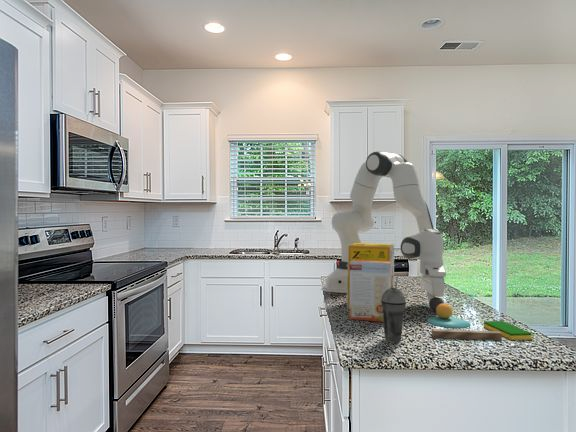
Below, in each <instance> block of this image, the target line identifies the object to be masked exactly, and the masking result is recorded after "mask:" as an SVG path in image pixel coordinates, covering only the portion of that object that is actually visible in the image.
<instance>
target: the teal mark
mask: <svg viewBox="0 0 576 432" xmlns="http://www.w3.org/2000/svg"><path fill="white" fill-rule="evenodd" d="M426 321H427V322H428V323H429V324H431V325H434V326H436V327H441V328H446V329H447V328H448V329H465V328H469V327H471V322H469V321H467V320H465V319H461V318H458V317H452V316H451V317H450V318H448V319H442V318H440V317H439V316H431V317H428V318H427V319H426Z"/></svg>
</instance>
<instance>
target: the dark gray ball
mask: <svg viewBox="0 0 576 432" xmlns="http://www.w3.org/2000/svg"><path fill="white" fill-rule="evenodd" d="M442 303H445V302H444V300H443V299H442V298H441V297H434V298H432V299H431V300H430V301H429V302H428V305H429V308H430V310H431V311H434V312H436V308H437V306H438V305H439V304H442Z"/></svg>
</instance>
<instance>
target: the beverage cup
mask: <svg viewBox="0 0 576 432" xmlns="http://www.w3.org/2000/svg"><path fill="white" fill-rule="evenodd" d="M395 277H396V278H395V283H394V288H390V289H387V290H386V291H385V292H384V293H383V295H382V300H381V302H382V308H383V320H384V322H383V331H384V332H383V334H384V340H385V341H386V342H389V343H392V344H393V343H395V344H397V343H401V342H402V341H401V340H402V335H403V326H404V325H403V324H404V316H405V315H404V314H405V309H406V304H407V301H406V296H405V295H404V292H402V291H401V290H400V289H399V288H398V287H397V286H398V279H399V273H396V276H395Z"/></svg>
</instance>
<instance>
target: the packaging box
mask: <svg viewBox="0 0 576 432" xmlns="http://www.w3.org/2000/svg"><path fill="white" fill-rule="evenodd" d="M352 260H370V261H390V262H391V288H395V283H394V282H395V244H393V243H371V242H370V243H369V242H367V243H366V242H362V243H354V244H351V245H348V281H347V293H346V296H347V297H346V298H347V299H346V302H347V303H346V305H347V306H346V308H347V309H350V261H352Z"/></svg>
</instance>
